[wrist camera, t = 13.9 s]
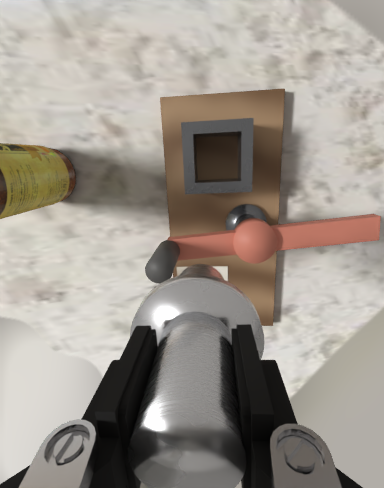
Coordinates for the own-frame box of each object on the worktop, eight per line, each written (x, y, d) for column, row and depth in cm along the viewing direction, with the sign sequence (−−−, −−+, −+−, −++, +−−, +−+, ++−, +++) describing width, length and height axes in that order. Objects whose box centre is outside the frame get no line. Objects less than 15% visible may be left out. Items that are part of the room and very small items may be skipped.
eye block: (246, 187, 28) (252, 191, 24) (188, 190, 29) (184, 194, 25) (247, 124, 26) (253, 117, 22) (185, 127, 27) (180, 122, 23)
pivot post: (265, 242, 30) (275, 258, 25) (225, 243, 30) (227, 259, 25) (266, 203, 28) (277, 211, 23) (225, 204, 29) (227, 213, 24)
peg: (246, 326, 17) (294, 538, 7) (160, 327, 17) (96, 528, 8) (247, 241, 15) (307, 368, 6) (151, 244, 16) (58, 368, 6)
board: (271, 321, 34) (273, 326, 33) (177, 320, 35) (176, 325, 34) (282, 91, 26) (285, 88, 25) (162, 99, 27) (159, 97, 26)
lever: (164, 265, 25) (149, 294, 20) (157, 229, 24) (140, 249, 19) (369, 244, 23) (417, 270, 18) (371, 203, 22) (423, 218, 17)
